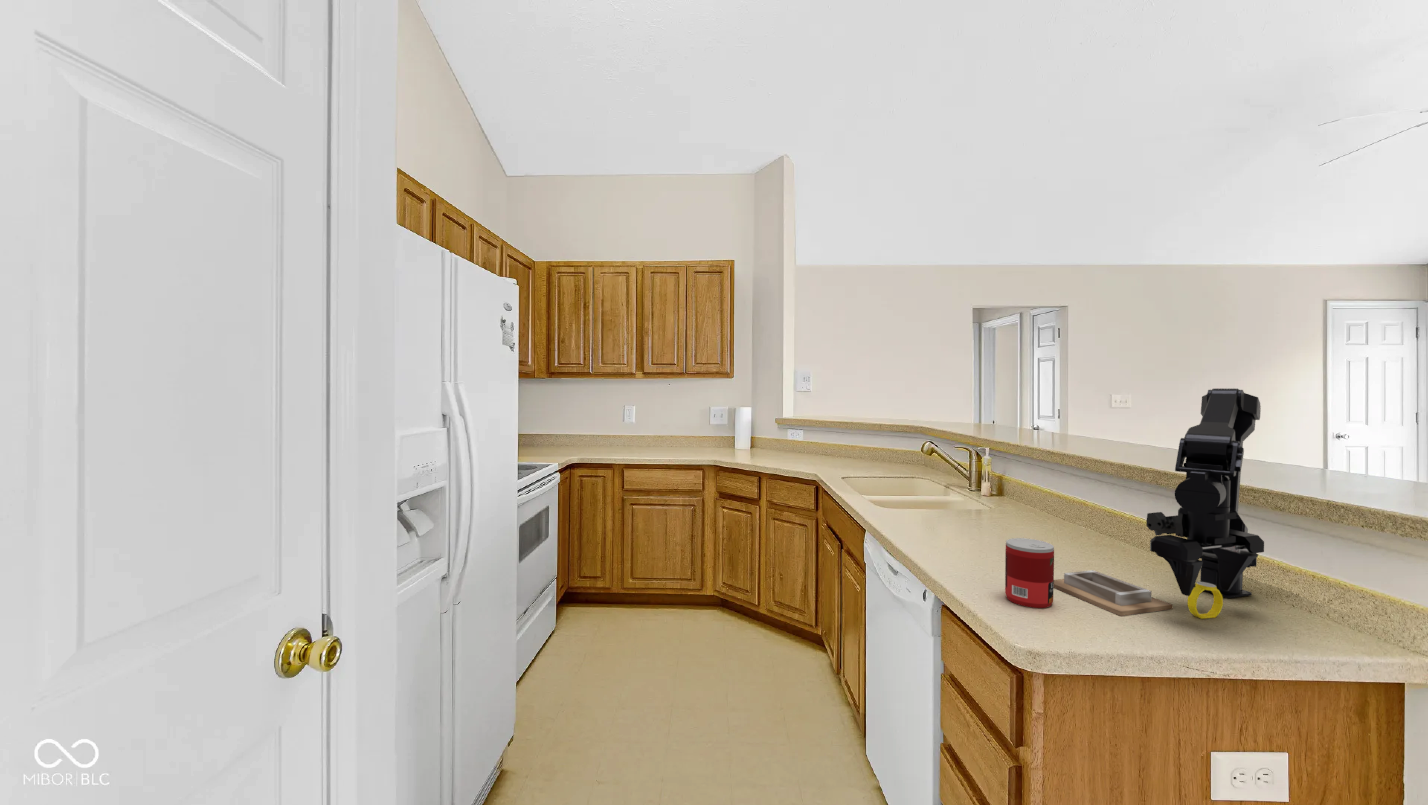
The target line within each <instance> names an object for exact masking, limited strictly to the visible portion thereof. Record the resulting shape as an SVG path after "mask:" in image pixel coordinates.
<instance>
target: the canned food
mask: <svg viewBox="0 0 1428 805" xmlns="http://www.w3.org/2000/svg"><path fill="white" fill-rule="evenodd" d="M1004 551H1005V560H1004V562H1005V568H1004V572H1005V574H1004V576H1005V577H1004V582H1005V583H1004V585H1005V586H1004V593H1005V597H1006V599H1007V600H1008V601H1010V602H1011V603H1013V604H1015V605H1019V606H1022V607H1027V608H1032V609H1046V608H1049V607H1051V606H1052V605H1053V603H1054V590H1055V588H1054V580H1055V578H1054V577H1055V546H1054V545H1053V544H1052V543H1050V542H1046V541H1044V540H1039V539H1035V538H1024V537H1016V538H1013V537H1011V538H1008V539H1006V541H1005V550H1004Z"/></svg>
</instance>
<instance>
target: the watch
mask: <svg viewBox="0 0 1428 805" xmlns="http://www.w3.org/2000/svg"><path fill="white" fill-rule="evenodd" d="M1195 586H1196V587H1194V588H1193V590H1192V592H1191V594H1190V596H1187V602H1186V603H1187V608H1188V610H1189V612H1190V613H1191V614H1192V616H1193V617H1196V618H1198V619H1200V620H1203V619H1216V618H1217V617H1218V616H1219V614H1220V613H1221V612H1222V609H1223V605H1224V601H1223V600H1224V597H1223V596H1222V595H1221V593H1220V591H1219V590H1218V589H1217V587H1216V585H1214V584H1210V583H1206V582H1200V581H1196V582H1195ZM1204 590H1209V591H1212V593H1211V594H1213V603H1212V605H1211V608H1210V609H1209V610H1208V612H1206V613H1199V611H1198V609H1197V606H1198V605H1197V604H1198V599H1199V597H1200V595H1201V593H1203V592H1205V591H1204Z"/></svg>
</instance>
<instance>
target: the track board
mask: <svg viewBox="0 0 1428 805" xmlns="http://www.w3.org/2000/svg"><path fill="white" fill-rule="evenodd" d="M1063 574H1064V575H1063V578H1060V579H1059V578H1058V579H1054V590H1055V589H1056V590H1058V591H1060V592H1063V593H1065V594H1066V595H1069V596H1071V597H1072V596H1073V597H1075V598H1077V599H1080V600H1082V601H1084V602H1086V603H1089V604H1091V605H1094V606H1096V607H1098V608H1100V609H1103V610H1105V611H1107V612H1110V613H1112V614H1114V615H1117V616H1119V617H1123V616H1124V617H1125V616H1131V615H1138V614H1146V613H1153V612H1159V611H1168V610H1169V611H1170V610H1173V604H1171V603H1170V602H1166V601H1164V600H1161V599H1158V598H1155V597H1152V593H1153V592H1152V590H1149V589H1147V588H1143V587H1141V586H1138V585H1135V584H1133V583H1130V582H1127V581H1124V580H1121V579H1118V578H1117V577H1112V576H1110V575H1108V574H1105V573H1103V572H1102V573H1101V572H1099V571H1097V570H1094V569H1090V570H1081V571H1074V572H1073V571H1072V572H1064V573H1063Z"/></svg>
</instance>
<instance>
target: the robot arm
mask: <svg viewBox="0 0 1428 805" xmlns="http://www.w3.org/2000/svg"><path fill="white" fill-rule="evenodd" d="M1200 404H1201V406H1200V415H1201V416H1202V417H1201V419H1200V423H1199V424H1197V425H1194V426H1190V427H1189V428H1188V429H1187V431H1186V433H1185V435H1184V437H1181V438H1180V440H1179V444H1178V451H1177V455H1176V462H1175V466H1174V467H1175V468H1174V471H1175V472H1177V473H1178V472H1180V473H1186V474H1185V475H1186V476H1185V479H1184V480H1182V481H1181V482H1180V483H1179V484H1178V485H1177V486H1176V488H1175V489H1174V498H1175V501H1176V503H1177V504H1178V505H1179V506H1180V507H1179V508H1178V509H1177V515H1176V514H1175V515H1169V516H1166V515H1165V514H1164V513H1163V511H1157V512H1148V513H1147V514H1146V523H1145V525H1146V528H1148V530H1150V531H1153V532H1154V535H1155V536H1153V538H1151V539H1150V541H1149V542H1150V543H1149V544H1150V545H1149V546H1150V547H1149V551H1150V552H1153V553H1155V554H1156V555H1157V556H1158V557H1160V558H1163V559H1164V560H1165V561H1166V562H1167V564H1169V566H1170V568H1171V570H1172V572H1173V575H1174V578H1175V579H1176V580H1175V581H1176V583H1177V584H1178V587H1179V590H1180V593H1181V594H1182V595H1183V596H1186V597H1188V596H1190V594H1191V592H1192V590H1193V588H1194V587H1196V586H1195V583H1196V582H1197V578H1198V576H1200V577H1199V578H1200V580H1199V582H1206V583H1210V584H1214V585H1216V587H1217V589H1218V590H1219V591H1220V593H1221V595H1222V597H1223V598H1226V599H1232V598H1240V597H1246V596H1247V597H1248V596H1252V592H1251V591H1249V590H1245V589H1243V583H1244V582H1243V580H1244V577H1243V576H1244V573H1243V572H1244V571H1245V570H1246V569H1247V568H1248V569H1249V568H1252V567H1254V568H1255V567H1257V561H1258V560H1257V558H1258V556H1259V554H1260V553H1264V552H1265V540H1263V539H1262V538H1261V537H1260V536H1259V535H1258V534H1255V533H1250V532H1248V530H1249V528H1248V526H1247V525H1246V523H1245V522H1244V520H1243V519H1242V518H1241V516H1240V515H1239V505H1240V504H1239V502H1240V488H1241V474H1242V466H1243V459H1244V452H1245V448H1244V446H1243V445H1244V441H1245V440H1246V439H1248V438H1249V437H1250V435H1251V434H1252V433H1254V431H1255V428H1256V421H1260V419H1261V411H1262V410H1261V407H1262V406H1261V400H1260V399H1259V397H1258V396H1256V395H1252V394H1249V393H1246V392H1245V391H1244V389H1239V388H1212V389H1208V390H1207V393H1206V394H1204V395H1203V396H1201V403H1200ZM1163 534H1164V535H1163ZM1199 573H1200V575H1199ZM1203 592H1207V593H1210V594H1213V593H1212V591H1209V590H1204V591H1203Z"/></svg>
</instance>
